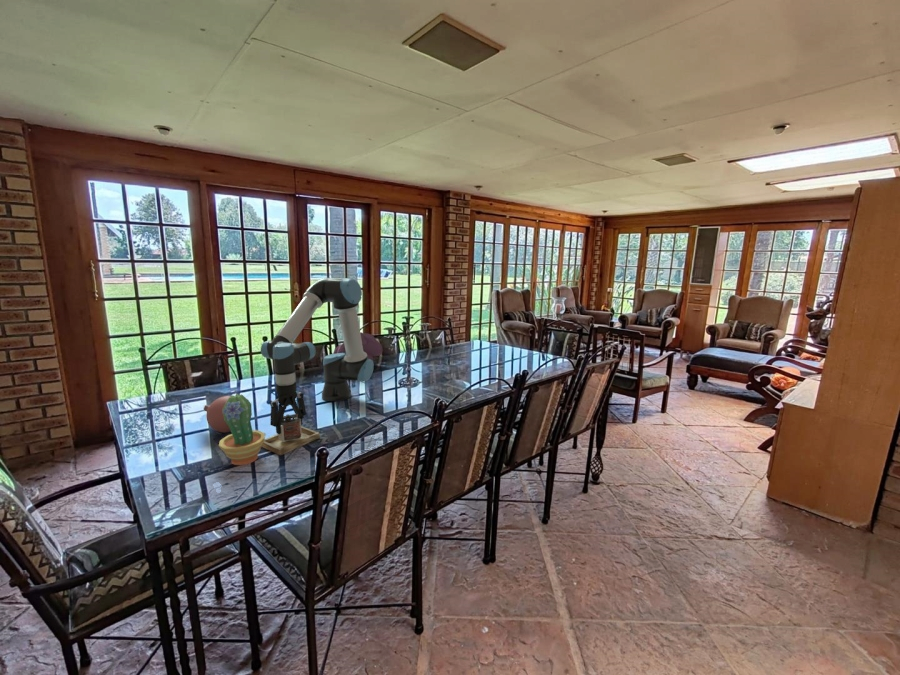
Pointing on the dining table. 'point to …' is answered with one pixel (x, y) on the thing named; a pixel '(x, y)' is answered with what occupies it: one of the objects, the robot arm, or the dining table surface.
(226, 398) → the brown rounded piece
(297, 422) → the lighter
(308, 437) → the tray
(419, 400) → the dining table surface
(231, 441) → the potted cactus
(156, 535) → the dining table surface
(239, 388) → the dining table surface
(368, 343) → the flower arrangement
